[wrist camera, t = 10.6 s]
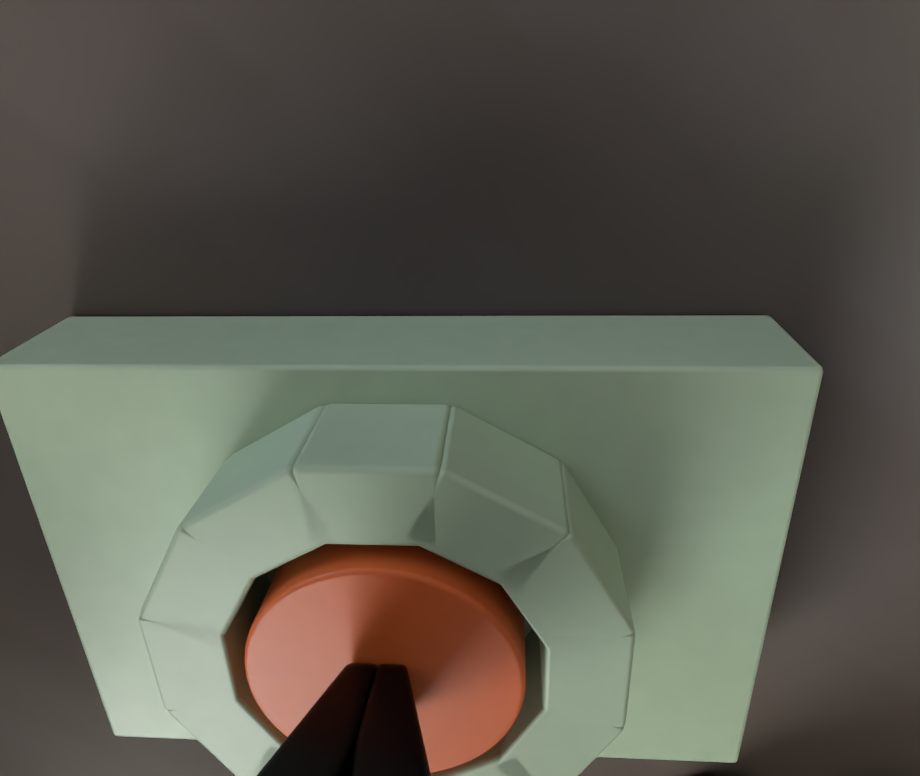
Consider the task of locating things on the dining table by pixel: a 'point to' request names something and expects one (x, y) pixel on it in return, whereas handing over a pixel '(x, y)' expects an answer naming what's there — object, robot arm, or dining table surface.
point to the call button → (392, 641)
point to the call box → (424, 504)
